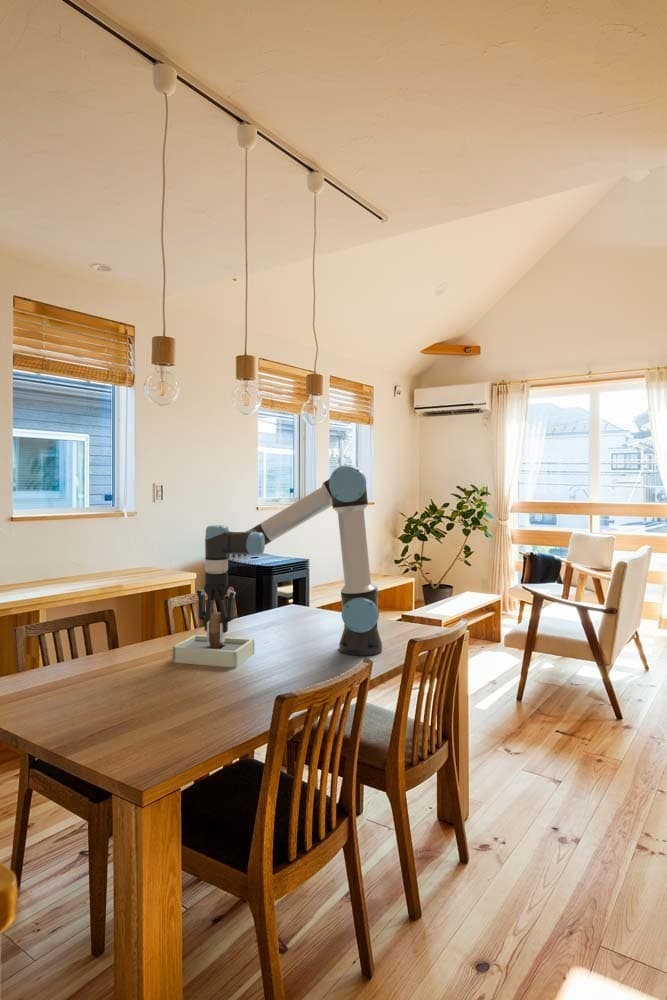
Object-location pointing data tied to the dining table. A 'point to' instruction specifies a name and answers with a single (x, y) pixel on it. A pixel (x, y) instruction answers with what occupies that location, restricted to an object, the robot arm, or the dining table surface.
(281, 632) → the dining table surface
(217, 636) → the peg
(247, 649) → the box
